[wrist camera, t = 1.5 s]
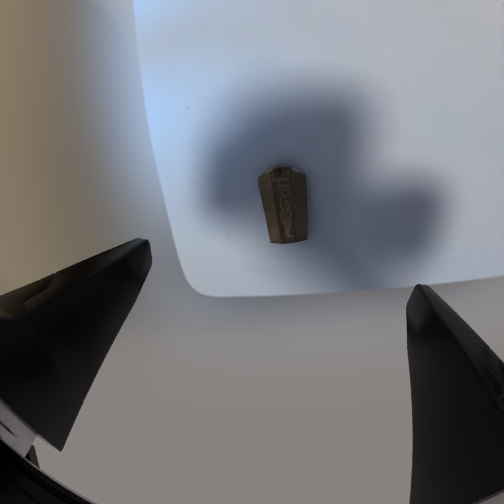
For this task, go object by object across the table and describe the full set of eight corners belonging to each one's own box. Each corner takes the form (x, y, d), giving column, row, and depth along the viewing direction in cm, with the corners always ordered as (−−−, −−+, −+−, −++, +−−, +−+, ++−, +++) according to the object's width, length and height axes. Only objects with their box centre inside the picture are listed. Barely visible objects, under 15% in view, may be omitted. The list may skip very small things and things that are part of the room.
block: (272, 238, 25) (266, 247, 24) (258, 167, 23) (251, 171, 21) (315, 235, 24) (312, 243, 22) (303, 161, 22) (299, 163, 20)
